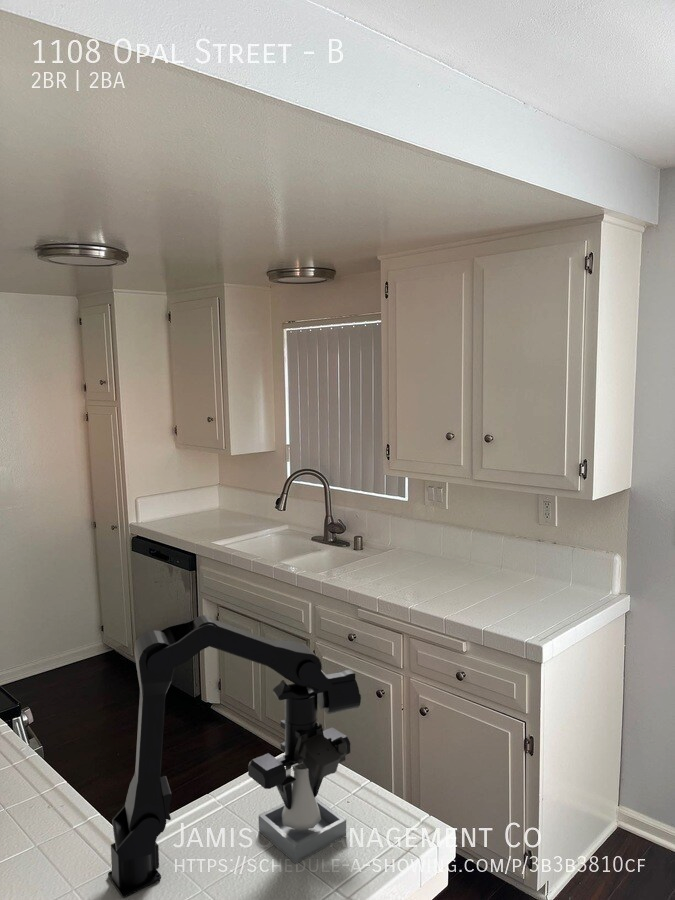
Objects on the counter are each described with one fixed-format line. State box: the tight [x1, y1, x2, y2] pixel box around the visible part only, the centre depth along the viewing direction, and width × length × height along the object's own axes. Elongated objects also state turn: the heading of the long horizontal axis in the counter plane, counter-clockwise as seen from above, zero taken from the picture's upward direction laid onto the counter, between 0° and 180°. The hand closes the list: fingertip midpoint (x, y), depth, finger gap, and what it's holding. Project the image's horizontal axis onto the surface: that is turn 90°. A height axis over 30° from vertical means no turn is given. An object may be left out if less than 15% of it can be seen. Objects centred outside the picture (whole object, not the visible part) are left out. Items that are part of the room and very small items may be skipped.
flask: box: [282, 763, 321, 830], centre depth 121 cm, size 7×7×10 cm
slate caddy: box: [258, 796, 347, 865], centre depth 121 cm, size 11×11×3 cm
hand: (301, 802), depth 121 cm, fingers closed on flask, 5 cm apart
